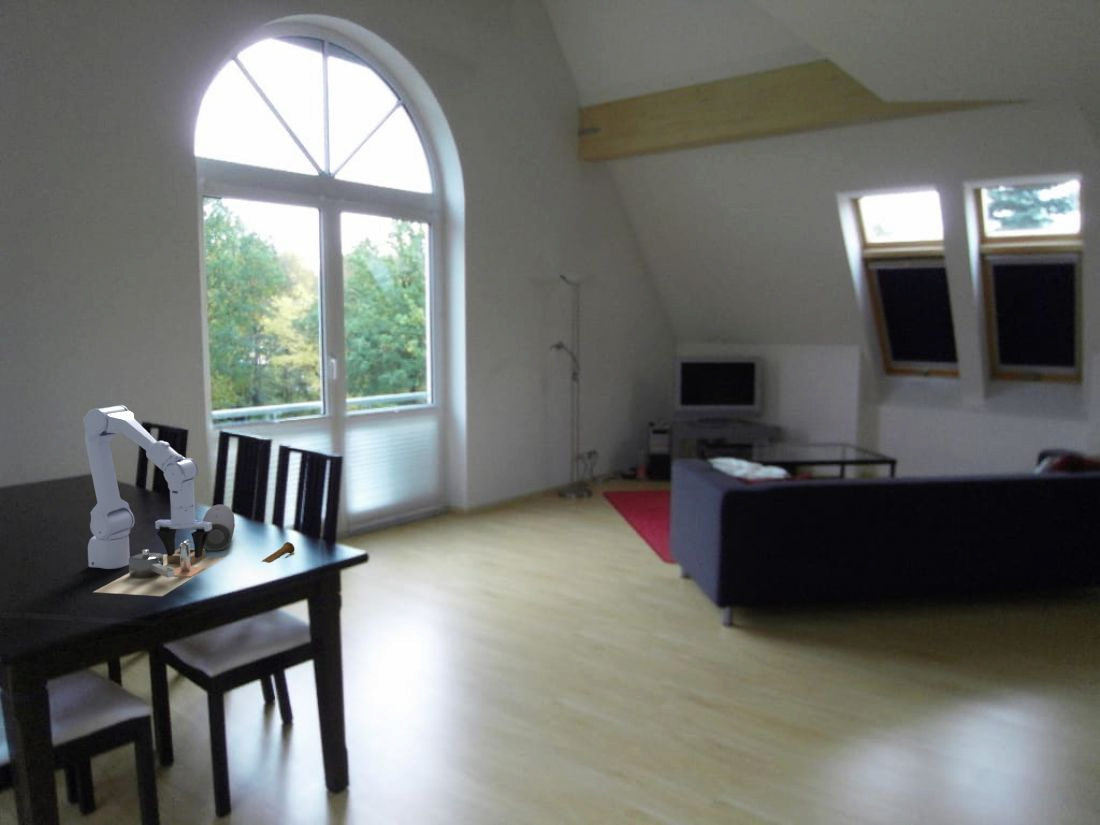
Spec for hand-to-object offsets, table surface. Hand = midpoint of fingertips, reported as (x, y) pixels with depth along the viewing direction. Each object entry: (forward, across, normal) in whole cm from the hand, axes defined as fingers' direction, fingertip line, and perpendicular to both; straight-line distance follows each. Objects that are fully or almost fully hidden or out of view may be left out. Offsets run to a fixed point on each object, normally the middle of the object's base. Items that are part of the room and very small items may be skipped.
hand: (184, 555), depth 209 cm
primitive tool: (+6, +17, +15) cm, 23 cm away
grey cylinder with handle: (+4, -5, -5) cm, 8 cm away
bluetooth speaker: (+6, -6, +28) cm, 29 cm away
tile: (+4, 0, 0) cm, 4 cm away
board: (+6, -5, -2) cm, 8 cm away
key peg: (+4, 0, 0) cm, 4 cm away
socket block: (+4, -5, +9) cm, 11 cm away
